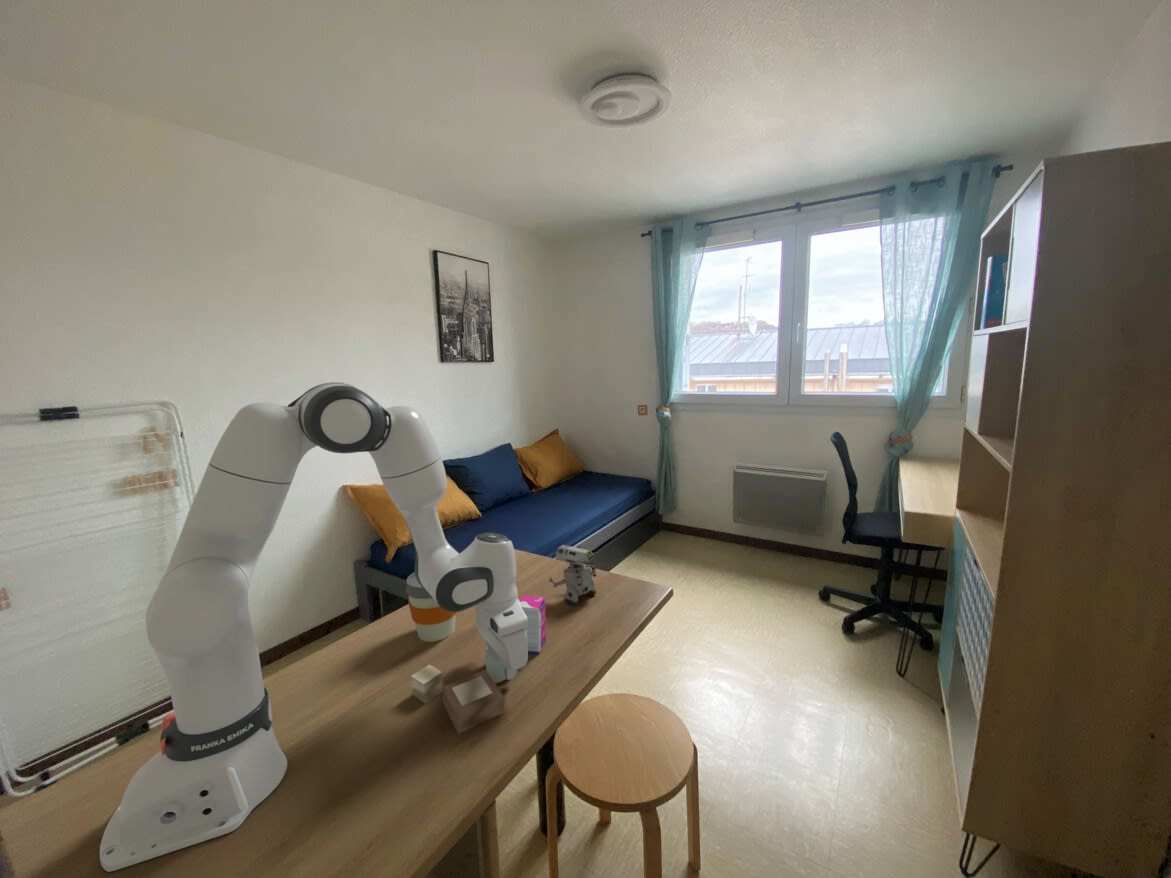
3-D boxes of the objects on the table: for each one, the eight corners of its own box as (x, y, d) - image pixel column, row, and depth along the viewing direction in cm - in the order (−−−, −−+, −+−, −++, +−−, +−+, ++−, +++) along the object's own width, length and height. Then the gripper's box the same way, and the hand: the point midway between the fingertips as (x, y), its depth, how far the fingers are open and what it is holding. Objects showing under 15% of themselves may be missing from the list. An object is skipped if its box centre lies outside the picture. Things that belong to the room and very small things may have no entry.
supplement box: (540, 654, 108) (538, 608, 107) (516, 652, 110) (513, 606, 108) (547, 640, 114) (545, 596, 112) (524, 637, 115) (521, 594, 113)
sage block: (495, 684, 99) (493, 662, 98) (486, 671, 103) (485, 650, 102) (516, 674, 102) (515, 653, 101) (507, 663, 106) (506, 642, 105)
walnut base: (458, 733, 86) (456, 713, 85) (443, 705, 93) (442, 686, 92) (503, 712, 90) (502, 693, 90) (486, 687, 98) (485, 669, 97)
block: (425, 703, 94) (423, 684, 93) (412, 695, 96) (410, 675, 96) (443, 691, 97) (442, 672, 96) (431, 683, 100) (429, 664, 99)
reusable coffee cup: (442, 649, 111) (437, 591, 109) (399, 641, 115) (393, 584, 113) (471, 622, 123) (467, 568, 121) (431, 615, 127) (427, 563, 125)
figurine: (570, 585, 142) (568, 538, 140) (600, 596, 135) (598, 547, 132) (549, 597, 135) (547, 548, 133) (579, 609, 128) (577, 557, 125)
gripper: (466, 592, 107) (470, 647, 109) (502, 633, 90) (506, 697, 92) (492, 584, 110) (495, 638, 112) (532, 622, 93) (535, 685, 95)
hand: (501, 665), depth 102 cm, fingers open, 8 cm apart
